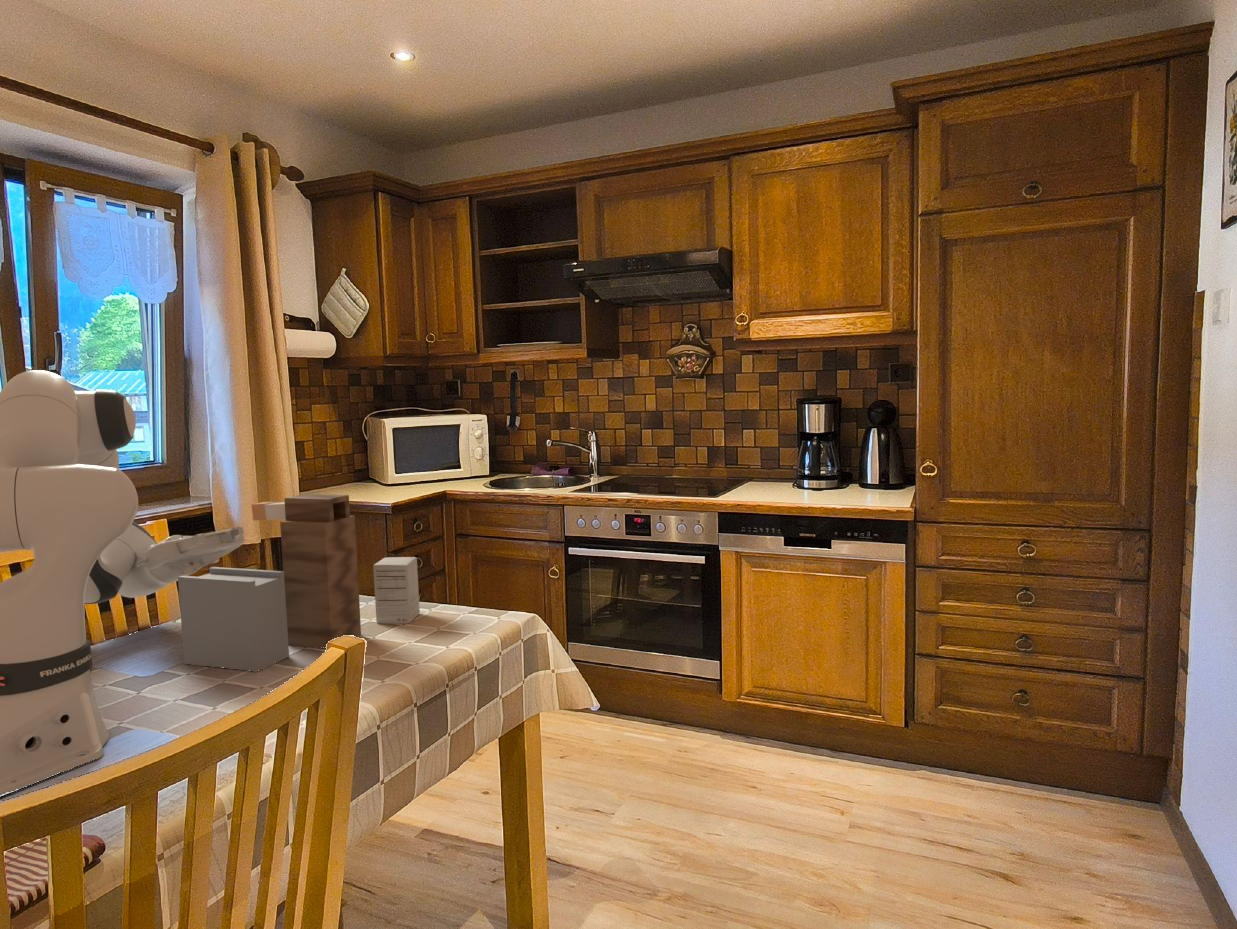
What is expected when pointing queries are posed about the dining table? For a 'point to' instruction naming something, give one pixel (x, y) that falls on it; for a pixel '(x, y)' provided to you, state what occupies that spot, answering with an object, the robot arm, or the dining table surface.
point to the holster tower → (320, 569)
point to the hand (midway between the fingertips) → (222, 533)
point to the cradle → (234, 618)
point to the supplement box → (396, 589)
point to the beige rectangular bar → (268, 511)
